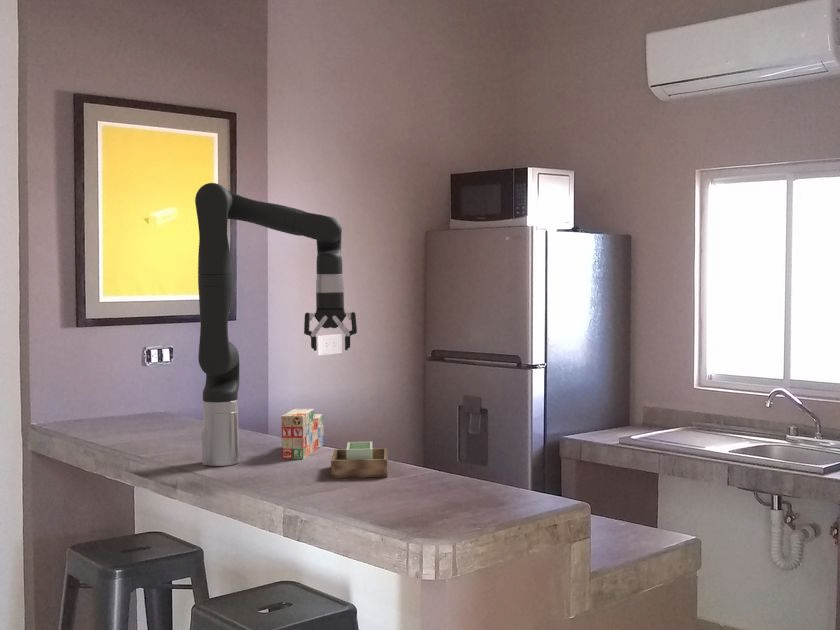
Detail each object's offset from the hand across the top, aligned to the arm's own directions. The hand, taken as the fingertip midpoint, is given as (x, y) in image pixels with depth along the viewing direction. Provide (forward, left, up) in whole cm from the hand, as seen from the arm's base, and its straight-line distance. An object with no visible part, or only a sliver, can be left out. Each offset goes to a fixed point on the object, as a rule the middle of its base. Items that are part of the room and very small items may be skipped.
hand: (330, 350), depth 259 cm
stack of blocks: (-9, +12, -30) cm, 34 cm away
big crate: (+8, -16, -30) cm, 35 cm away
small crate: (+8, -16, -29) cm, 34 cm away
